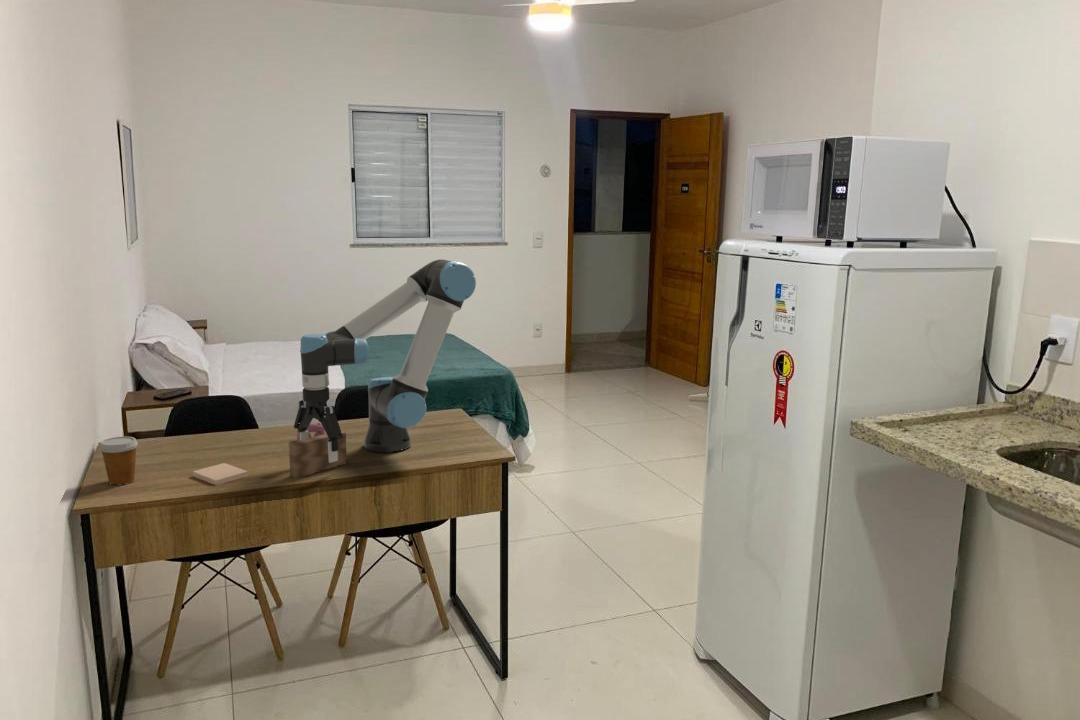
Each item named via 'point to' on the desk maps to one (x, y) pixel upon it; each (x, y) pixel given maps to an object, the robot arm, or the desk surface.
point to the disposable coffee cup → (119, 459)
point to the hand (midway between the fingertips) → (318, 457)
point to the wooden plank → (314, 455)
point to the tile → (220, 474)
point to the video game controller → (314, 430)
